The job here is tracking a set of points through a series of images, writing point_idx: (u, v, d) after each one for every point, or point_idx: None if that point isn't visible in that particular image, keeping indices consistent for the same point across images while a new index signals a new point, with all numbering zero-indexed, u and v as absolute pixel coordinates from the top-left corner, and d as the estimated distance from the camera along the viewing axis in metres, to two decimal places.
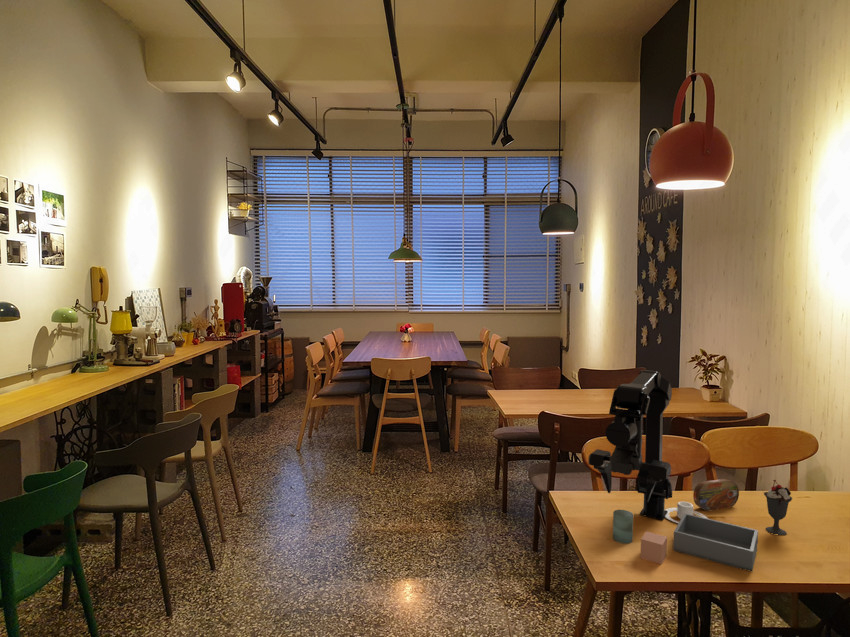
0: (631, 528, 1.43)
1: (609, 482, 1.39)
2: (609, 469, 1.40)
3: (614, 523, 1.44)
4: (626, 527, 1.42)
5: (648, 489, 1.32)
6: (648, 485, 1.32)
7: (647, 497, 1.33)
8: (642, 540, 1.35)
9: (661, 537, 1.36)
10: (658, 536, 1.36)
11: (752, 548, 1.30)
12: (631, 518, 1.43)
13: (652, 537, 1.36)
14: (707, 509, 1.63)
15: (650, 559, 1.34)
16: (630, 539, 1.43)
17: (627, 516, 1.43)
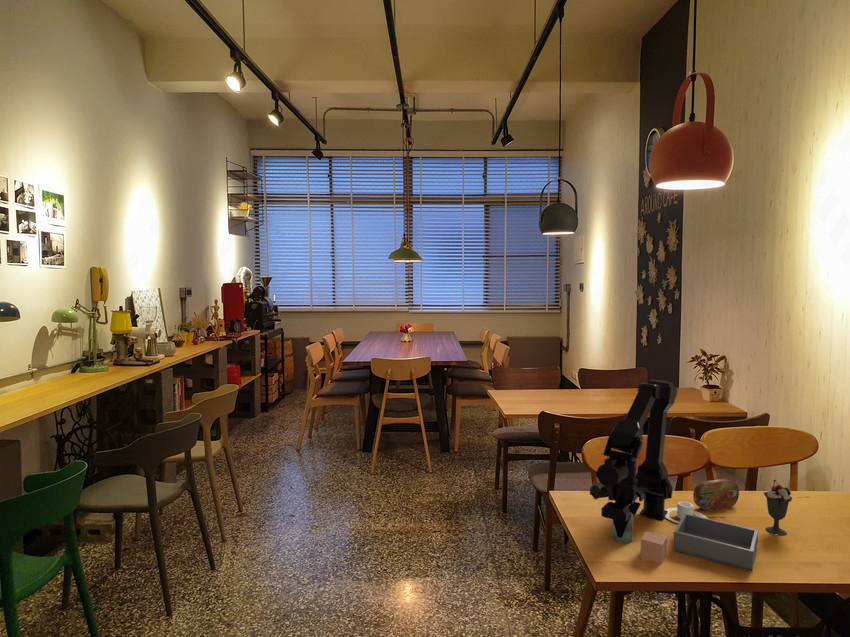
0: (631, 528, 1.43)
1: None
2: (629, 509, 1.47)
3: None
4: None
5: None
6: None
7: None
8: (642, 540, 1.35)
9: (661, 537, 1.36)
10: (658, 536, 1.36)
11: (752, 548, 1.30)
12: (631, 518, 1.43)
13: (652, 537, 1.36)
14: (707, 509, 1.63)
15: (650, 559, 1.34)
16: (630, 539, 1.43)
17: None
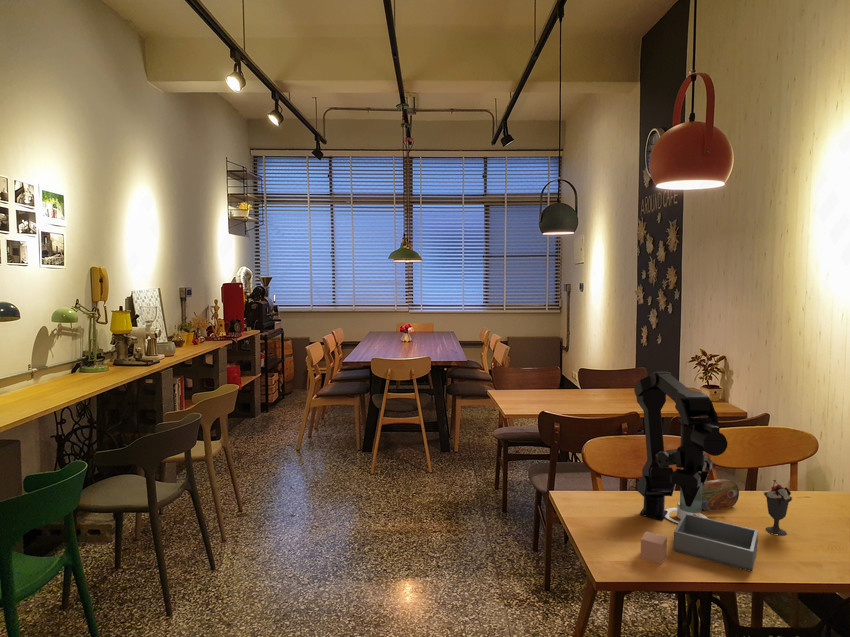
0: (700, 497, 1.37)
1: None
2: None
3: (682, 492, 1.39)
4: None
5: None
6: None
7: None
8: (642, 540, 1.35)
9: (661, 537, 1.36)
10: (658, 536, 1.36)
11: (752, 548, 1.30)
12: (700, 486, 1.37)
13: (652, 537, 1.36)
14: (707, 509, 1.63)
15: (650, 559, 1.34)
16: (699, 508, 1.37)
17: None
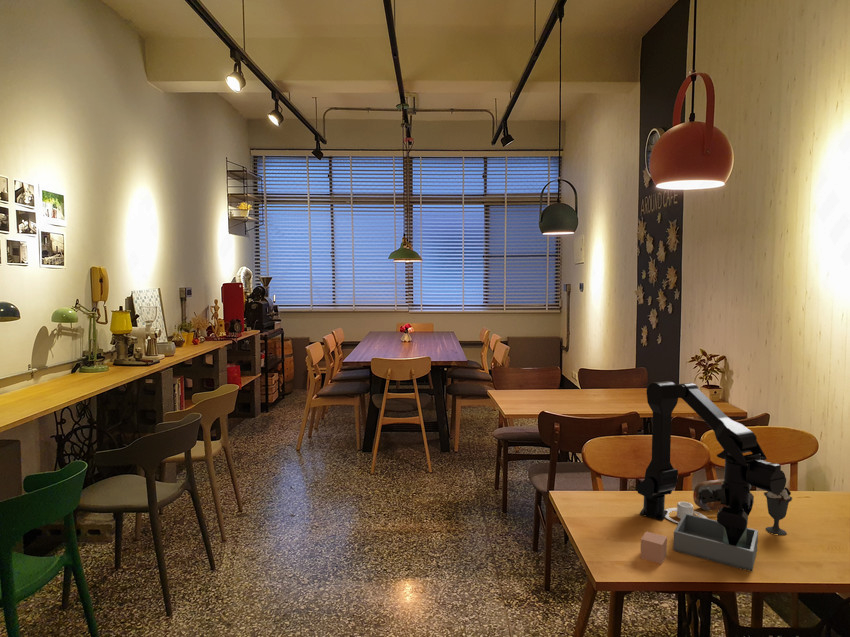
0: (745, 540, 1.35)
1: None
2: None
3: (726, 535, 1.36)
4: (740, 540, 1.34)
5: (727, 532, 1.33)
6: None
7: (728, 541, 1.33)
8: (642, 540, 1.35)
9: (661, 537, 1.36)
10: (658, 536, 1.36)
11: (752, 548, 1.30)
12: (745, 530, 1.34)
13: (652, 537, 1.36)
14: (707, 509, 1.63)
15: (650, 559, 1.34)
16: None
17: None
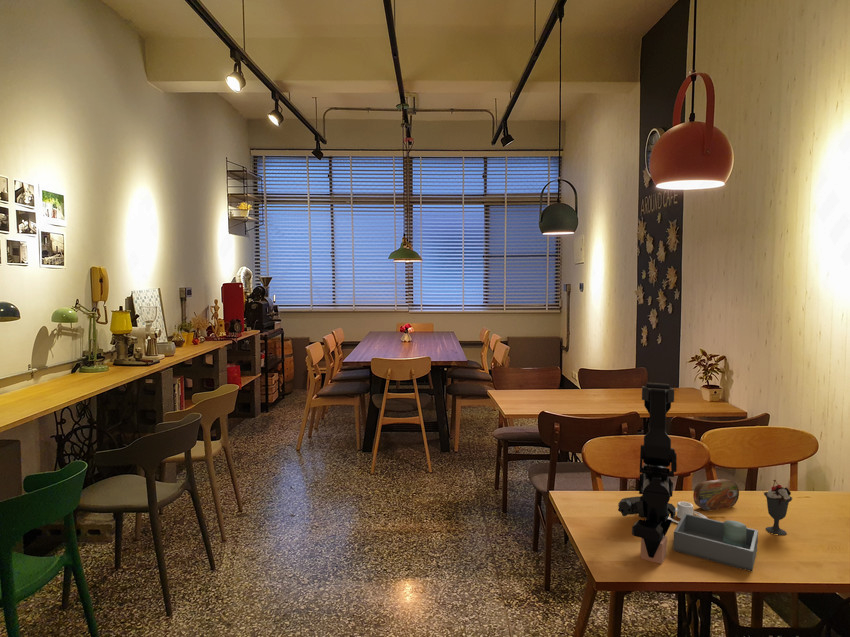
0: (745, 540, 1.35)
1: None
2: (661, 526, 1.37)
3: (726, 535, 1.36)
4: (740, 540, 1.34)
5: None
6: None
7: None
8: (642, 540, 1.35)
9: None
10: None
11: (752, 548, 1.30)
12: (745, 529, 1.35)
13: None
14: (707, 509, 1.63)
15: (650, 559, 1.34)
16: None
17: (741, 528, 1.34)
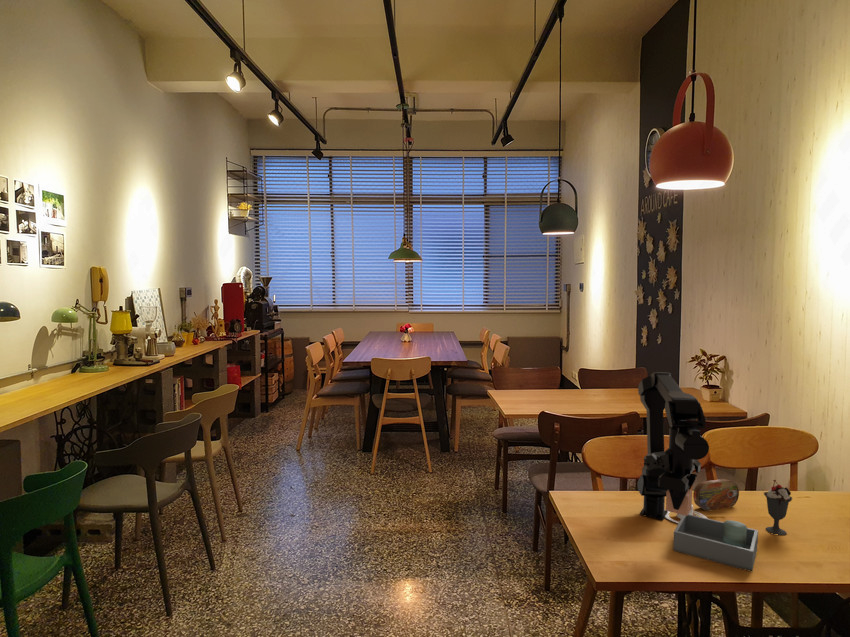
0: (745, 540, 1.35)
1: None
2: None
3: (726, 535, 1.36)
4: (741, 540, 1.34)
5: None
6: None
7: None
8: (667, 492, 1.37)
9: None
10: None
11: (752, 548, 1.30)
12: (745, 529, 1.35)
13: None
14: (707, 509, 1.63)
15: (675, 511, 1.37)
16: None
17: (741, 528, 1.35)
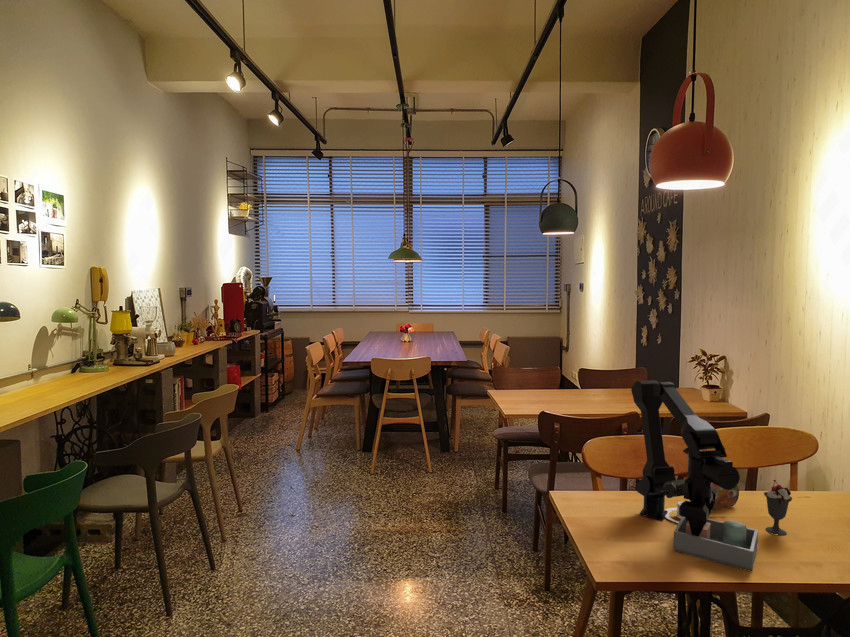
0: (745, 540, 1.35)
1: None
2: None
3: (726, 535, 1.36)
4: (741, 540, 1.34)
5: None
6: None
7: None
8: (687, 526, 1.41)
9: None
10: None
11: (752, 548, 1.30)
12: (745, 530, 1.34)
13: None
14: None
15: None
16: None
17: (741, 528, 1.34)
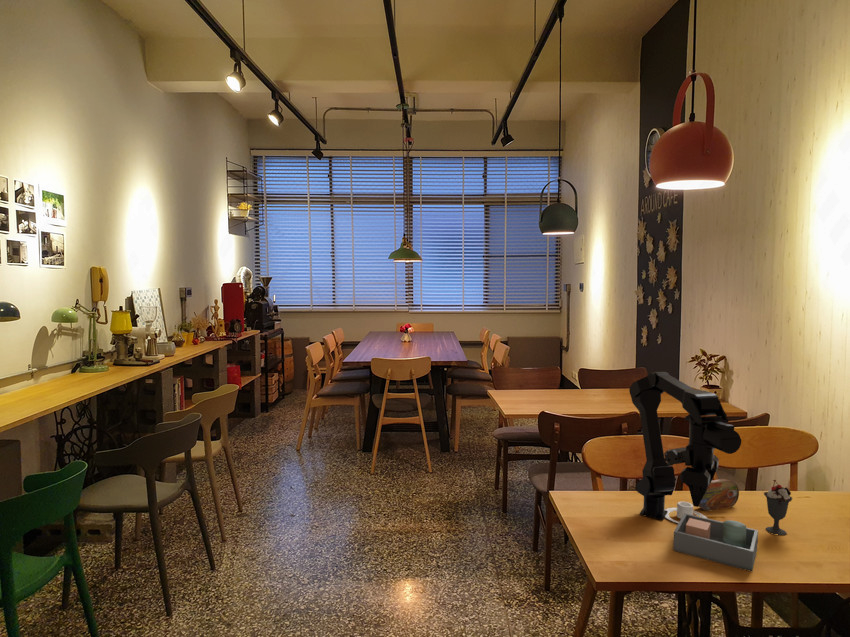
0: (745, 540, 1.35)
1: None
2: None
3: (726, 535, 1.36)
4: (741, 540, 1.34)
5: None
6: None
7: None
8: (687, 526, 1.41)
9: (705, 523, 1.42)
10: (702, 522, 1.42)
11: (752, 548, 1.30)
12: (745, 529, 1.35)
13: (696, 523, 1.42)
14: (707, 509, 1.63)
15: None
16: None
17: (741, 528, 1.35)
